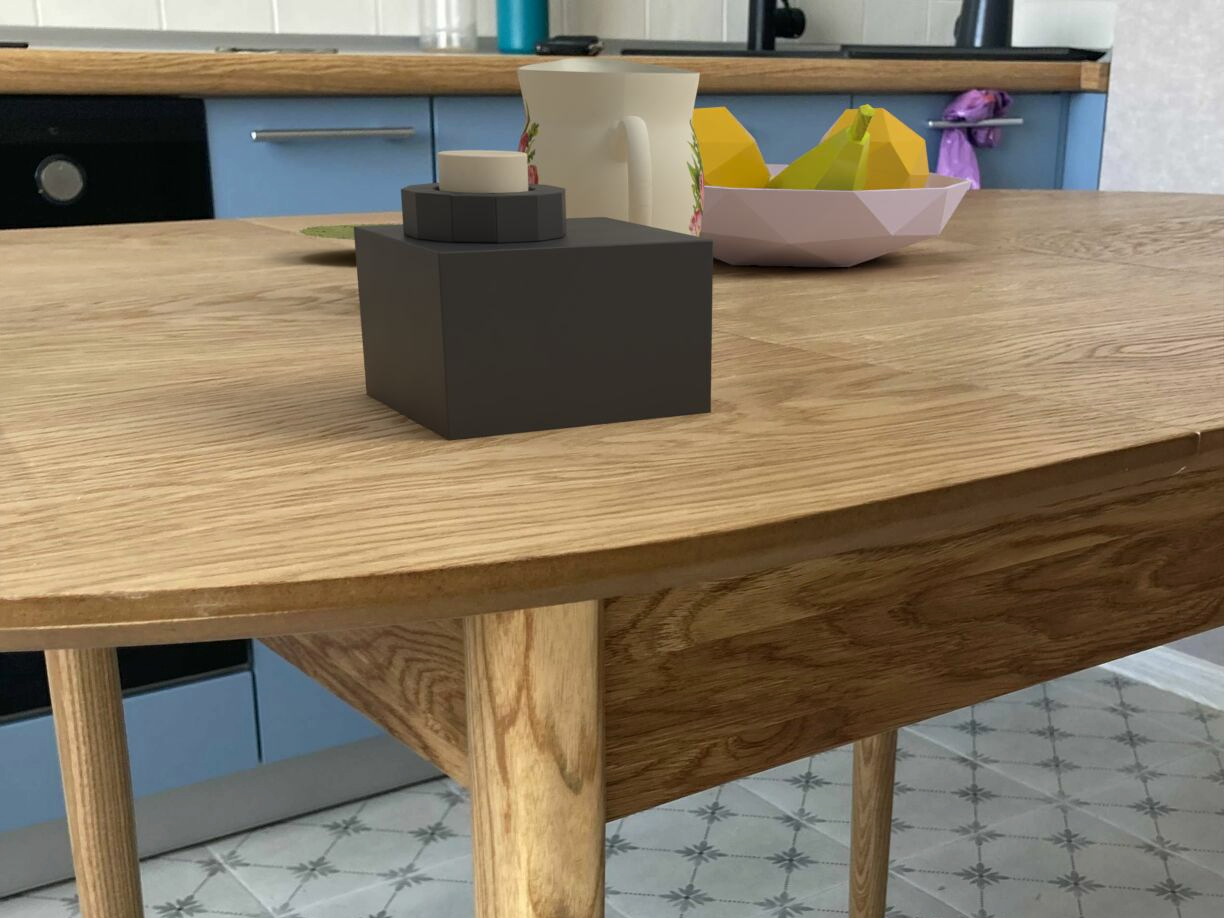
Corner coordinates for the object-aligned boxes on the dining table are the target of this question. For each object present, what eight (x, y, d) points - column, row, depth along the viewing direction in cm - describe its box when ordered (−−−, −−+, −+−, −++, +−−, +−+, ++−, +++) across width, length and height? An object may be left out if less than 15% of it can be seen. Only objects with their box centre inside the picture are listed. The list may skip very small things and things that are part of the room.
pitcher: (542, 339, 83) (533, 59, 77) (505, 291, 99) (496, 56, 93) (740, 335, 85) (746, 63, 79) (673, 289, 101) (674, 59, 95)
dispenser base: (449, 442, 61) (435, 201, 57) (366, 395, 69) (349, 181, 65) (711, 413, 67) (714, 193, 63) (607, 373, 74) (604, 175, 71)
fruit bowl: (629, 234, 130) (628, 88, 126) (951, 242, 130) (962, 96, 125) (589, 278, 105) (586, 97, 100) (989, 289, 104) (1005, 107, 99)
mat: (288, 251, 116) (286, 223, 115) (435, 246, 120) (434, 220, 119) (319, 269, 107) (316, 240, 106) (477, 264, 111) (475, 235, 110)
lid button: (459, 203, 61) (457, 156, 60) (426, 195, 64) (424, 150, 63) (542, 201, 63) (541, 154, 62) (507, 193, 65) (506, 149, 65)
